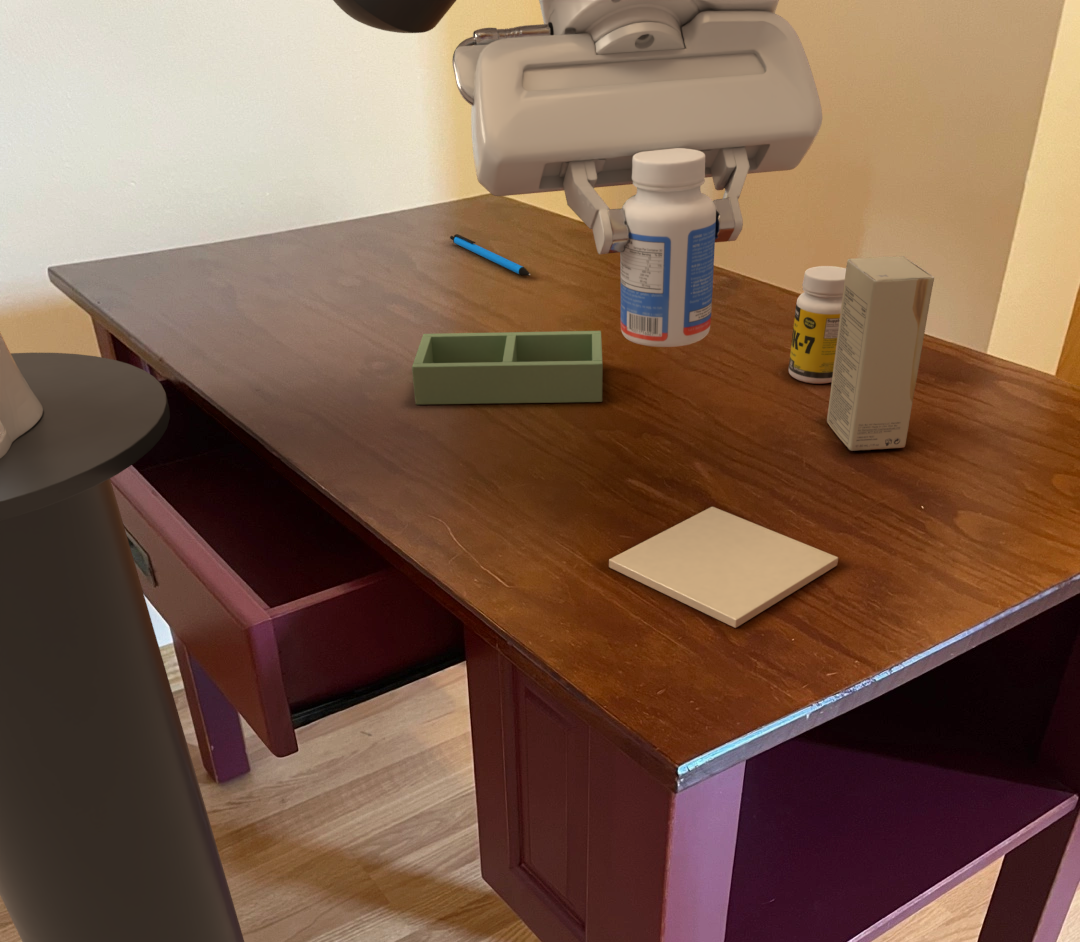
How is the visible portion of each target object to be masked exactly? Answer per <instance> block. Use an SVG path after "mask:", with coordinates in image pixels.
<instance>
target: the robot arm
mask: <svg viewBox="0 0 1080 942" xmlns="http://www.w3.org/2000/svg"><path fill="white" fill-rule="evenodd" d="M332 1H333V2H334V3H335V5H337V6H338V7H339V9H340V10H342V12H344V13H345V14H346V15H347V16H349V17H350V18H352V19H353V20H355V21H357V22H358V23H360V24H362V25H366V26H368V27H371V28H374V29H378V30H380V31H386V32H391V33H398V34H421V33H426V32H429V31H431V30H433V29H435V28H436V26H437V25H438V24H439V23H440V22H441V20H442V19H443V18H444V17H445V15H447V13H448V12H449V10H450V9H451V8H452V7H453V5H454V4H455V3H456V2H457V0H332ZM779 1H780V0H538V3H539V6H540V7H539V8H540V12H541V17H542V21H543V23H542V24H526V25H520V26H515V27H508V28H497V27H483V28H479V29H475V30H473V32H472V36H471V37H467V38H465V39H463V40H462V41H461V42H460V43H459V44H458V45H457V46H456V47H455V49H454V51H453V55H452V61H451V62H452V68H453V73H454V74H453V75H454V78H455V83H456V88H457V89H458V92H459V94H460V95H461V97H462V98H463V99H464V100H465V102H466V103H468V104H469V105H471V109H470V123H471V124H470V127H471V144H472V154H473V161H474V169H475V175H476V180H477V182H478V183H479V184H480V185H481V186H482V187H483V188H484V189H485V190H486V191H488V192H489V194H491V195H492V196H494V197H508V196H519V195H531V194H540V193H551V192H552V193H553V192H561V191H562V192H564V195H565V200H566V205H567V206H568V208H570V210H572V211H573V213H574V214H575V215H576V216H577V217H578V218H579V219H580V220H581V221H582V222H583V224H585V225H586V227H588V229H590V230H592V234H593V235H592V236H593V239H594V243H595V247H596V252H597V254H598V255H607V254H617V253H620V252H624V251H625V245H627V244H628V241H629V231H628V226H627V225H626V224H625V220H626V217H625V213H624V208H622V207H621V208H611V207H609V206H608V204H607V203H606V202H605V201H604V199H603V198H602V197H601V196H600V194H599V193H598V192H597V191H596V189H597V188H606V187H616V186H617V187H618V186H629V185H633V180H632V159H633V156H634V155H635V154H636V153H639V152H642V151H651V150H661V149H671V148H686V149H693V150H698V151H701V152H703V153H704V154H705V178H704V179H707V178H712V181H713V185H714V189H715V191H723V190H724V192H723V194H722V195H723V196H722V198H717V199H712V201H713V202H714V204H715V207H716V228H715V243H727V242H735V241H736V240H737V239H738V238H739V236H740V234H741V233H742V231H743V226H744V219H743V214H742V210H741V207H740V202H739V199H740V196H741V195H742V194H741V193H742V191H743V188H744V185H745V182H746V179H747V176H748V175H749V174H751V175H752V174H760V173H771V172H783V171H785V172H786V171H791V170H794V169H796V168H797V167H798V166H799V165H800V164H801V162H802V161H803V159H804V158H805V156H806V155H807V153H808V152H809V151H810V149H811V147H812V146H813V144H814V142H815V140H816V138H817V136H818V134H819V132H820V130H821V127H822V123H823V110H822V109H823V108H822V105H821V100H820V96H819V92H818V88H817V84H816V81H815V78H814V75H813V72H812V68H811V66H810V63H809V59H808V57H807V54H806V52H805V51H806V50H805V49H804V46H803V44H802V41H801V39H800V37H799V35H798V33H797V31H796V30H795V28H794V26H792V24H791V23H790V22H789V21H788V20H786V19H785V18H784V17H783V16H781V15H779V14H777V13H776V11H777V7H778V4H779ZM595 188H596V189H595ZM11 353H12V352H11V351H10V349H9V347H8V346H7V343H6V340H5V339H4V336H3V334H2V332H1V331H0V458H2V457H3V456H4V455H5V454H6V453H7V452H8V450H9V448H10V446H11V444H12V442H13V441H14V440H15V439H17V438H18V437H19V436H21V435H22V434H24V433H25V432H27V431H28V430H29V429H31V428H32V427H33V426H34V425H35V424H36V423H37V422H38V421H39V420H40V418H41V416H42V414H43V407H42V405H41V403H40V402H39V400H38V399H37V397H36V396H35V394H34V393H33V392H32V390H31V388H30V387H29V385H28V384H27V382H26V381H25V379H24V377H23V375H22V374H21V372H20V370H19V368H18V367H17V365H16V363H15V361H14V359H13V357H12V355H11Z"/></svg>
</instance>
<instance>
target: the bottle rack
mask: <svg viewBox="0 0 1080 942" xmlns="http://www.w3.org/2000/svg"><path fill="white" fill-rule="evenodd" d="M602 341H603V340H602V330H569V331H567V330H566V331H565V330H562V331H509V332H508V331H507V332H506V331H505V332H501V331H500V332H452V333H451V332H450V333H449V332H448V333H446V332H444V333H443V332H442V333H423V334H422V336H421V340H420V343H419V345H418V347H417V348H418V349H417V351H416V354H415V357H414V360H413V362H412V366H411V372H412V382H413V383H412V384H413V391H414V392H413V393H414V402H415V405H417V406H420V405H421V406H423V405H478V404H479V405H480V404H481V405H485V404H487V405H488V404H489V405H490V404H491V405H492V404H494V405H495V404H551V403H553V404H556V403H557V404H560V403H561V404H563V403H602V402H603V374H604V373H603V369H604V368H603V367H604V365H603V362H604V361H603V342H602Z"/></svg>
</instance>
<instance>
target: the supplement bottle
mask: <svg viewBox="0 0 1080 942" xmlns="http://www.w3.org/2000/svg"><path fill="white" fill-rule="evenodd" d="M803 274H804V275H803V280H802V285H801V286H802V291H803V292H802V293H801V294H800V295H798V297H797V299H796V304H795V309H794V310H795V311H794V319H793V327H792V335H791V343H790V344H791V345H790V352H789V353H790V354H789V361H788V373H789V376H791V377H792V378H793V379H795V380H797V381H800V382H803V383H806V384H815V385H822V384H823V385H824V384H832V376H833V369H834V361H835V353H836V345H837V337H838V329H839V321H840V313H841V306H842V298H843V290H844V282H845V274H846V267H841V266H835V265H818V266H817V265H816V266H812V267H809V268H807V269H806V270H805V271H804V273H803Z"/></svg>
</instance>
